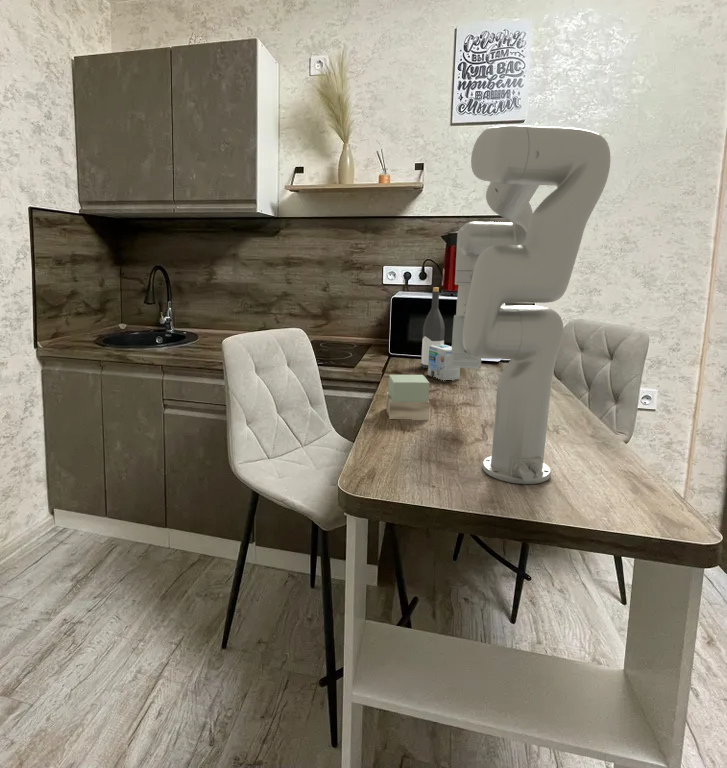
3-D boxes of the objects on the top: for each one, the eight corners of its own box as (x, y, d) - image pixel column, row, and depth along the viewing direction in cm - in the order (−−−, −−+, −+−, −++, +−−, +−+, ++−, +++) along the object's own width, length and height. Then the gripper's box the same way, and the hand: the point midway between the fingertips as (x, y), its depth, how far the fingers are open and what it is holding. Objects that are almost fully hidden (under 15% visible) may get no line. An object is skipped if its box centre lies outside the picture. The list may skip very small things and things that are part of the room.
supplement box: (481, 369, 126) (484, 317, 124) (450, 367, 128) (453, 316, 125) (480, 364, 133) (483, 315, 131) (451, 363, 135) (453, 314, 132)
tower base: (428, 421, 131) (429, 402, 130) (389, 421, 131) (390, 401, 130) (422, 410, 141) (423, 392, 140) (386, 410, 140) (386, 392, 139)
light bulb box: (427, 375, 184) (428, 345, 181) (443, 373, 187) (444, 344, 184) (443, 381, 174) (445, 349, 172) (460, 380, 177) (462, 348, 175)
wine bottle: (446, 368, 196) (451, 287, 189) (430, 370, 191) (434, 288, 185) (433, 364, 202) (437, 286, 195) (416, 366, 198) (420, 286, 191)
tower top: (428, 401, 130) (429, 382, 129) (392, 401, 130) (393, 382, 129) (421, 393, 139) (422, 374, 138) (388, 392, 139) (389, 374, 137)
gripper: (496, 279, 118) (491, 355, 121) (476, 279, 135) (472, 345, 138) (464, 278, 118) (460, 354, 121) (447, 278, 135) (444, 345, 138)
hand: (466, 349), depth 130 cm, fingers closed on supplement box, 8 cm apart
